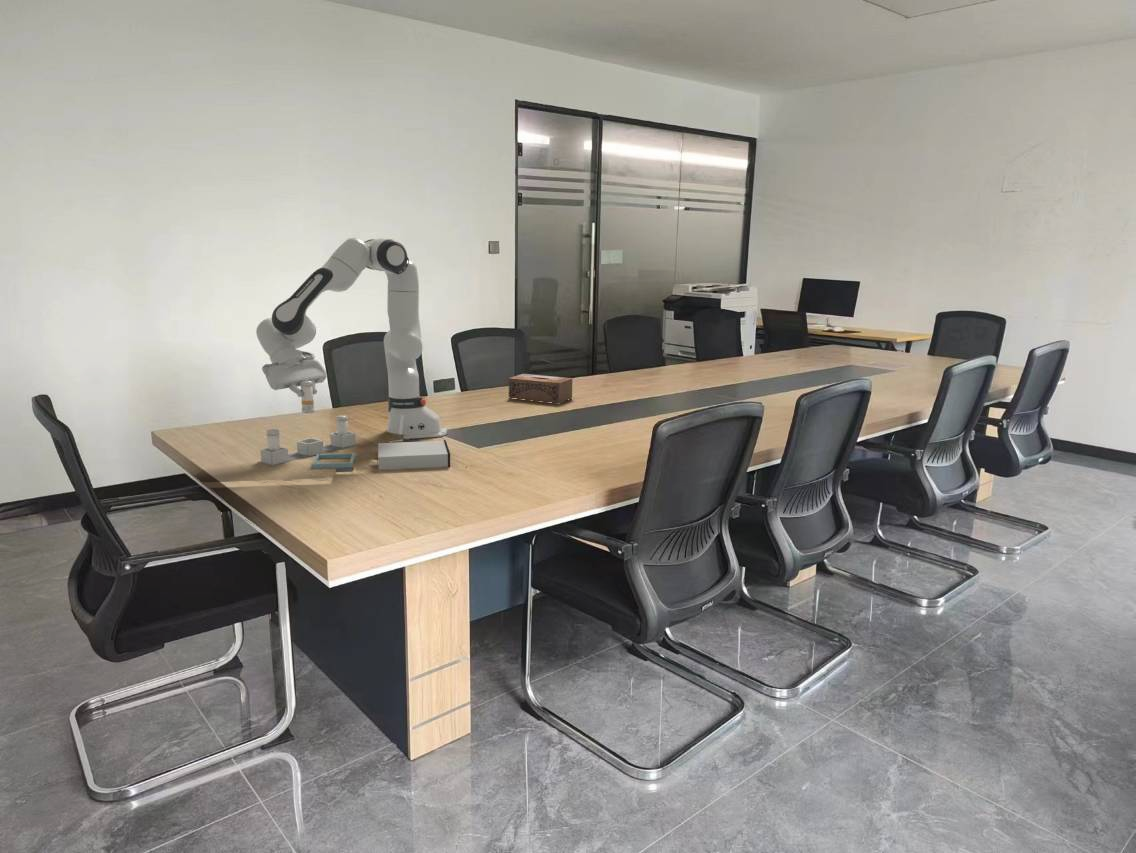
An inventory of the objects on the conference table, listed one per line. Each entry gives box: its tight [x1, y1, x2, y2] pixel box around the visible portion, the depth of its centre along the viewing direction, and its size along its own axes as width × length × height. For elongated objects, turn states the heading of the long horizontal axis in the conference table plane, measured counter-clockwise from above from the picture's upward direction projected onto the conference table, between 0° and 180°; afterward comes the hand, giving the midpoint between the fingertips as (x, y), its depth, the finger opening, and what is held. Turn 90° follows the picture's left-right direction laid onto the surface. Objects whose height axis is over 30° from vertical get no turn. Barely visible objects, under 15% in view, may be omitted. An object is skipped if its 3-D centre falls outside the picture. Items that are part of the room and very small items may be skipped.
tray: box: [311, 452, 356, 473], centre depth 247 cm, size 12×12×3 cm
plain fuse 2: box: [335, 414, 349, 436], centre depth 268 cm, size 4×4×10 cm
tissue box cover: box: [508, 373, 573, 404], centre depth 361 cm, size 26×14×10 cm, turn 66°
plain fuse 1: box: [266, 428, 281, 452], centre depth 246 cm, size 4×4×10 cm
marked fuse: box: [299, 381, 315, 414], centre depth 254 cm, size 4×4×10 cm
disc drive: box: [377, 439, 451, 471], centre depth 256 cm, size 18×22×5 cm
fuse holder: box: [257, 430, 359, 467], centre depth 258 cm, size 7×35×6 cm, turn 145°
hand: (308, 394), depth 253 cm, fingers closed on marked fuse, 4 cm apart
